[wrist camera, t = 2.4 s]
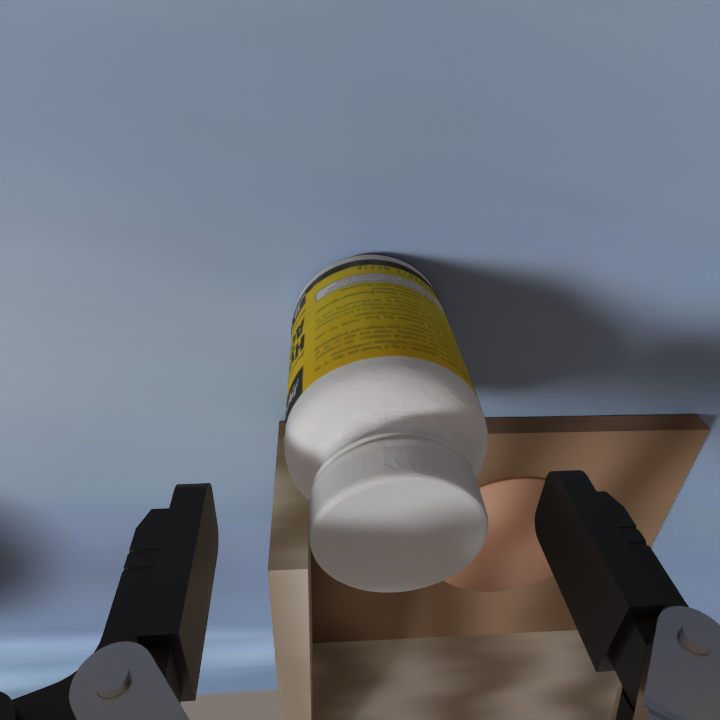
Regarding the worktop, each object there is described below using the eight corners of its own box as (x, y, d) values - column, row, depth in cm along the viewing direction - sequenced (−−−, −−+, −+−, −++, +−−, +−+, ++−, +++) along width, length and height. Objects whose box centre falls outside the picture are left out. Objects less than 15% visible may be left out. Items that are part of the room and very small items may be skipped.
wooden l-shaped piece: (696, 414, 24) (820, 548, 18) (595, 623, 33) (657, 759, 27) (279, 421, 22) (267, 570, 17) (291, 638, 31) (286, 785, 25)
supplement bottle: (275, 265, 19) (247, 473, 11) (432, 237, 19) (527, 425, 10) (308, 390, 22) (306, 627, 14) (444, 366, 22) (525, 592, 13)
